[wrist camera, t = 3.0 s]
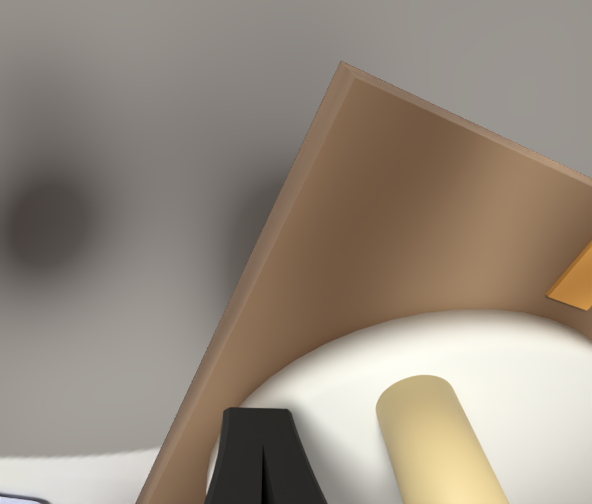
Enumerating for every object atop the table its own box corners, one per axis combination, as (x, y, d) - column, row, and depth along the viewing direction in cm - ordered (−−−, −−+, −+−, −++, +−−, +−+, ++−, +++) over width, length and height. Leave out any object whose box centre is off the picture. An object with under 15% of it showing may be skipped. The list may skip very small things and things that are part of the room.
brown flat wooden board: (112, 554, 20) (103, 598, 19) (340, 60, 10) (356, 78, 9) (430, 585, 25) (441, 623, 24) (785, 269, 15) (838, 301, 14)
